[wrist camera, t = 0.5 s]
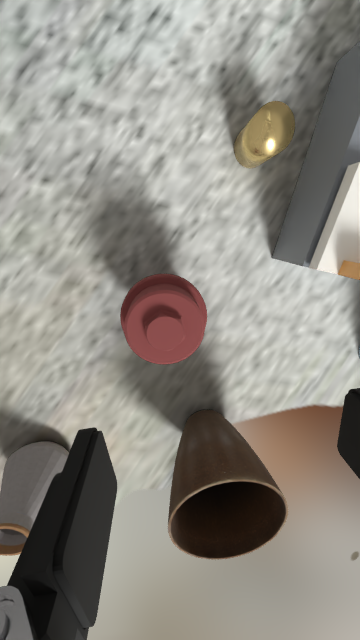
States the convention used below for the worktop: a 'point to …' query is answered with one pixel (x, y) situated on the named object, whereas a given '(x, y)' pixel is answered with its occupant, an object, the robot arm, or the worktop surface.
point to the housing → (324, 164)
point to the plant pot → (221, 492)
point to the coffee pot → (26, 490)
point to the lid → (342, 230)
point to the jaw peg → (265, 134)
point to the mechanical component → (163, 318)
